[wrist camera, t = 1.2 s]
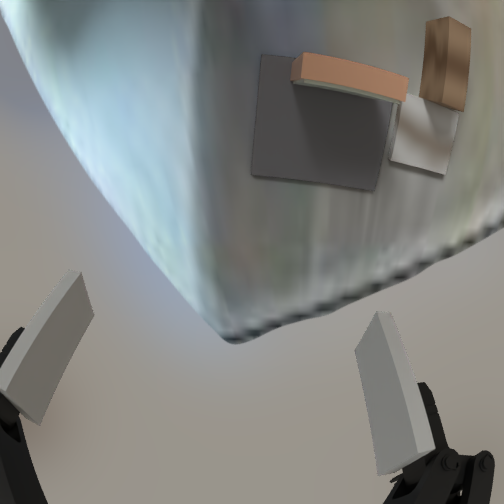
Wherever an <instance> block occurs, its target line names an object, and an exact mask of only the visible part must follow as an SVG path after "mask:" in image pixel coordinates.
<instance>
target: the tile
mask: <svg viewBox="0 0 504 504" xmlns="http://www.w3.org/2000/svg"><path fill="white" fill-rule="evenodd" d="M408 80H409V78H407V77H404V76H401V75H398V74H395V73H392V72H389V71H386V70H383V69H379V68H376V67H372V66H369V65H365V64H361V63H357V62H353V61H349V60H344V59H340V58H335V57H330V56H325V55H320V54H314V53H308V52H303V53H302V54H301V55H299V56H298V57H297V58H296V59H295V60H294V61H293V62H292V68H291V78H290V81H293V84H298V85H305V86H311V87H317V88H323V89H328V90H334V91H339V92H344V93H348V94H353V95H357V96H361V97H366V98H371V99H377V100H382V101H387V102H391V103H396V104H400V101H402V102H405V101H406V95H407V88H408Z"/></svg>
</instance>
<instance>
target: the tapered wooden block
mask: <svg viewBox="0 0 504 504" xmlns="http://www.w3.org/2000/svg"><path fill="white" fill-rule="evenodd" d="M470 49H471V28H469V27H467V26H465V25H464V24H462V23H460V22H458V21H457V20H455V19H453V18H451V17H444V18H440V19H436V20H432V21H428V22H426V35H425V49H424V61H423V70H422V78H421V86H420V93H419V97H417V96H414V95H411V94H408V93H407V95H406V101H405V102H402V101H400V104H398V108H397V114H396V120H395V125H394V130H393V136H392V141H391V145H390V150H389V155H388V159H389V160H391V161H395V162H399V163H403V164H407V165H411V166H415V167H419V168H423V169H426V170H430V171H433V172H437V173H440V174H444V175H445V174H446V170H447V167H448V163H449V159H450V155H451V151H452V146H453V142H454V137H455V133H456V128H457V123H458V117H459V113H457V112H455V111H453V110H450V109H448V108H451V109H454V110H458V111H461V112H464V106H465V100H466V92H467V85H468V76H469V65H470ZM445 107H447V108H445Z"/></svg>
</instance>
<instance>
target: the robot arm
mask: <svg viewBox="0 0 504 504" xmlns="http://www.w3.org/2000/svg"><path fill="white" fill-rule="evenodd" d="M93 317H94V313H93V310H92V307H91V304H90V300H89V297H88V294H87V290H86V287H85V283H84V280H83V276H82V273H81V272H78V271H73V270H68V271H67V272H66V274H65V275H64V276H63V277H62V279H61V280H60V281H59V282H58V284H57V285H56V286H55V288H54V289H53V290H52V291H51V293H50V294H49V295H48V297H47V298H46V299H45V301H44V302H43V304H42V305H41V306H40V308H39V309H38V311H37V312H36V313H35V315H34V316H33V318H32V319H31V320H30V322H29V324H28V325H27V326H26V328H22V327H20V328H19V329H18V330H17V331H15V332H14V333H13V334H12V335H11V337H10V338H9V340H8V341H7V344H6V345H5V346H4V348H3V349H2V352H1V353H0V504H48V503H47V500H46V498H45V496H44V493H43V491H42V489H41V486H40V483H39V480H38V478H37V475H36V472H35V470H34V466H33V463H32V460H31V457H30V454H29V450H28V447H27V444H26V440H25V436H24V432H23V428H22V424H21V420H20V418H19V413H21V414H22V415H23V416H24V417H25V418H26V419H28V420H30V421H32V422H34V423H36V424H37V425H39V426H40V424H41V422H42V419H43V417H44V415H45V412H46V410H47V408H48V405H49V403H50V401H51V399H52V396H53V394H54V392H55V390H56V388H57V385H58V383H59V381H60V379H61V377H62V375H63V373H64V371H65V369H66V367H67V365H68V363H69V361H70V359H71V357H72V355H73V353H74V351H75V350H76V348H77V346H78V344H79V342H80V340H81V338H82V336H83V335H84V333H85V331H86V329H87V327H88V326H89V324H90V322H91V320H92V319H93ZM355 354H356V359H357V363H358V367H359V372H360V377H361V381H362V386H363V390H364V396H365V401H366V406H367V411H368V416H369V422H370V427H371V433H372V439H373V446H374V452H375V459H376V466H377V474H378V476H381V475H386V474H391V473H395V472H397V471H398V470H400V469H402V470H403V473H402V474H400V475H398V476H396V477H395V478H393V479H392V480H391V481H390V482H391V483H392V482H395V481H397V482H396V483H395V484H394V487H393V489H392V490H391V492H390V494H389V495H388V497H387V498H386V500H385V501H384V503H383V504H489V502H490V497H491V491H492V483H493V476H494V467H495V462H494V458H493V455H492V454H491V453H490V452H489V451H481V452H480V453H478V454H477V455H475V456H468V455H459V454H458V453H457V452H456V451H455V450H454V449H450V448H449V447H448V444H447V442H446V438H445V434H444V430H443V427H442V423H441V420H440V416H439V414H438V413H437V412H438V410H437V407H436V405H435V400H434V397H433V395H432V392H431V390H430V389H429V388H428V386H427V385H426V383H425V382H423V383H417V381H416V378H415V375H414V372H413V369H412V367H411V364H410V361H409V358H408V355H407V353H406V350H405V347H404V344H403V342H402V339H401V337H400V334H399V331H398V329H397V326H396V324H395V321H394V319H393V316H392V314H391V313H390V312H378V311H377V312H376V313H375V315H374V317H373V319H372V321H371V323H370V324H369V326H368V328H367V330H366V332H365V333H364V335H363V337H362V339H361V341H360V342H359V344H358V346H357V347H356V349H355ZM461 490H462V495H461V496H460V491H461Z"/></svg>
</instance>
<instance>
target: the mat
mask: <svg viewBox="0 0 504 504" xmlns="http://www.w3.org/2000/svg"><path fill="white" fill-rule="evenodd" d="M295 59H296V58H291V57H283V56H273V55H261V66H260V77H259V88H258V99H257V110H256V121H255V133H254V144H253V156H252V167H251V175H259V176H269V177H278V178H287V179H296V180H304V181H312V182H319V183H327V184H334V185H340V186H347V187H353V188H359V189H365V190H371V191H375V187H376V182H377V178H378V174H379V170H380V165H381V161H382V156H383V152H384V147H385V142H386V137H387V132H388V126H389V121H390V115H391V109H392V103H391V102H387V101H382V100H377V99H371V98H366V97H361V96H357V95H353V94H348V93H344V92H339V91H334V90H328V89H323V88H317V87H311V86H305V85H298V84H293V81H290V78H291V68H292V62H293V61H294V60H295Z"/></svg>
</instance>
